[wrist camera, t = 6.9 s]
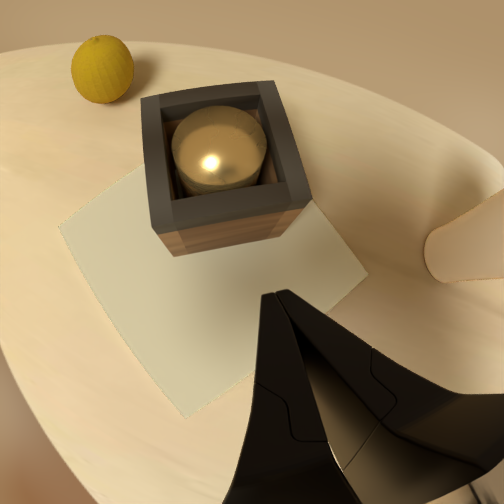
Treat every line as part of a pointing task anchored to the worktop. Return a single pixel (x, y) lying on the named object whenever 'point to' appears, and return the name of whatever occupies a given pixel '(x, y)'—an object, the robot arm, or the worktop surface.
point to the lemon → (102, 69)
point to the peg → (218, 150)
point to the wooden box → (226, 202)
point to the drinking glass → (469, 244)
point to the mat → (198, 288)
